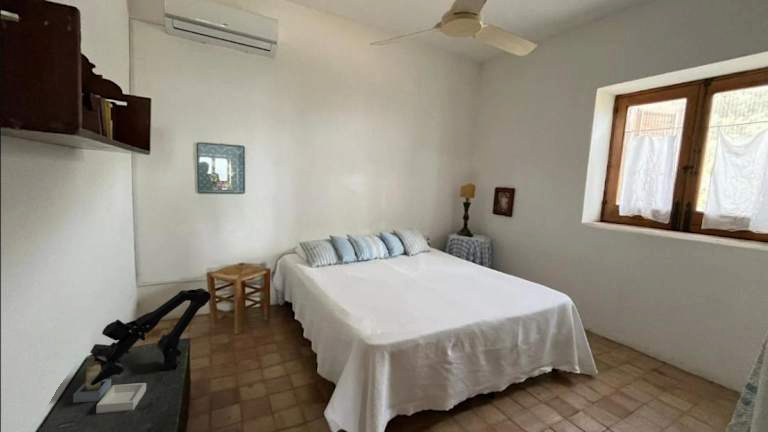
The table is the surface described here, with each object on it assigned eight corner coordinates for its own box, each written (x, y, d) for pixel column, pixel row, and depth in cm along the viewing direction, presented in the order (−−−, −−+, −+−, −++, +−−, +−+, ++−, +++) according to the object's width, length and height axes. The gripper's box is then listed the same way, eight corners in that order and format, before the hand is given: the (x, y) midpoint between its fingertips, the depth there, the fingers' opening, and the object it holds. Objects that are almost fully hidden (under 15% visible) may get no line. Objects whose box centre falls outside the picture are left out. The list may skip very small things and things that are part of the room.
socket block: (86, 388, 129) (86, 380, 128) (111, 386, 131) (111, 379, 131) (73, 402, 121) (73, 394, 120) (99, 400, 123) (99, 392, 123)
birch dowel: (89, 391, 127) (90, 361, 126) (102, 390, 129) (103, 360, 127) (82, 398, 123) (83, 368, 122) (96, 397, 124) (97, 367, 123)
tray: (112, 393, 128) (112, 385, 127) (146, 390, 131) (146, 382, 131) (96, 413, 117) (96, 405, 116) (133, 410, 120) (133, 401, 120)
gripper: (100, 328, 132) (63, 363, 124) (114, 345, 122) (75, 384, 114) (122, 339, 139) (89, 373, 131) (138, 356, 129) (102, 394, 121)
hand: (88, 380), depth 124 cm, fingers open, 7 cm apart
